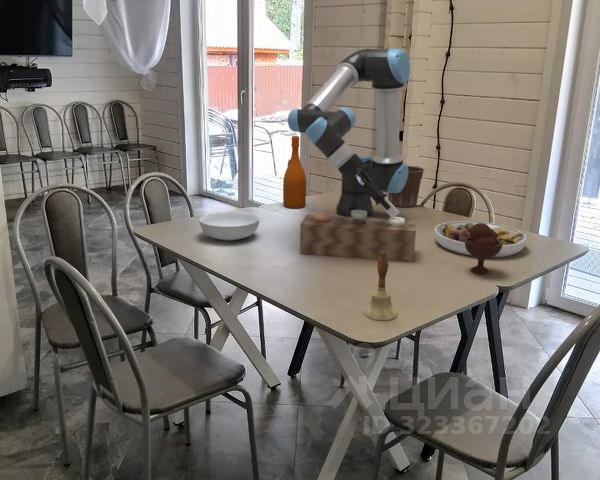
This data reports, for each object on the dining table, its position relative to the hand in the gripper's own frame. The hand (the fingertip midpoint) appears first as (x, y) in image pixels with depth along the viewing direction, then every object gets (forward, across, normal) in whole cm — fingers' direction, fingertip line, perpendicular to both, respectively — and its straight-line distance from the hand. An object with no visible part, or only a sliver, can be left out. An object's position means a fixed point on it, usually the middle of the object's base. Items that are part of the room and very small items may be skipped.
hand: (395, 215), depth 181 cm
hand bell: (+8, +47, -11) cm, 49 cm away
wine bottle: (-21, -57, -40) cm, 72 cm away
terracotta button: (-12, 0, -22) cm, 25 cm away
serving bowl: (-31, -7, -50) cm, 59 cm away
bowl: (+30, -17, +11) cm, 36 cm away
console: (+1, 0, -18) cm, 18 cm away
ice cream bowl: (+28, +10, +9) cm, 31 cm away
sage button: (-4, 0, -12) cm, 13 cm away
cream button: (+5, 0, -5) cm, 7 cm away
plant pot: (+11, -72, -7) cm, 73 cm away
